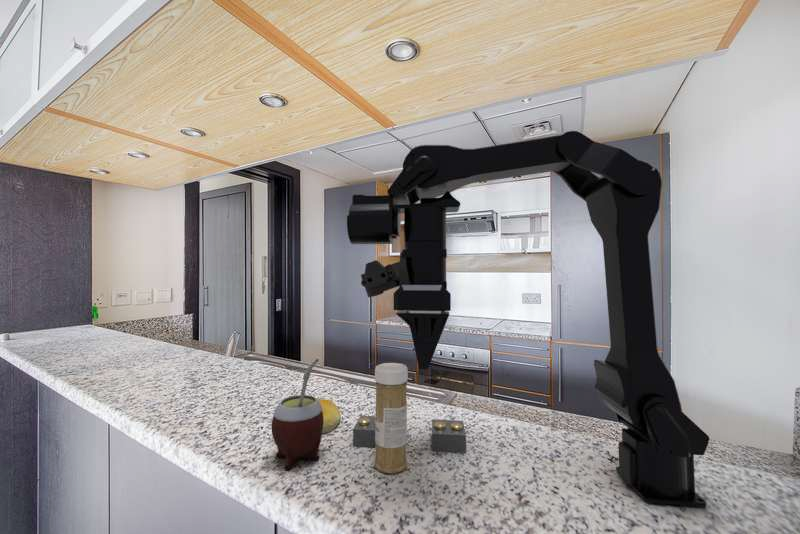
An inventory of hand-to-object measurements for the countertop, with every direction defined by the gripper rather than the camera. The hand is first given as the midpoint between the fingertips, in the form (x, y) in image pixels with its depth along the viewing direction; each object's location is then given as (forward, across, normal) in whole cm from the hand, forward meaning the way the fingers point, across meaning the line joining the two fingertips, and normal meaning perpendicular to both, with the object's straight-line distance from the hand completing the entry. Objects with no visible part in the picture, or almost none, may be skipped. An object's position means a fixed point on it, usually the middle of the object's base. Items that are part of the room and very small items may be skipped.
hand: (425, 359), depth 43 cm
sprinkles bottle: (+15, -1, -5) cm, 16 cm away
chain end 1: (+15, -8, -9) cm, 19 cm away
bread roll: (+15, -12, -20) cm, 28 cm away
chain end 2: (+15, -8, +3) cm, 17 cm away
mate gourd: (+15, -1, -18) cm, 23 cm away
